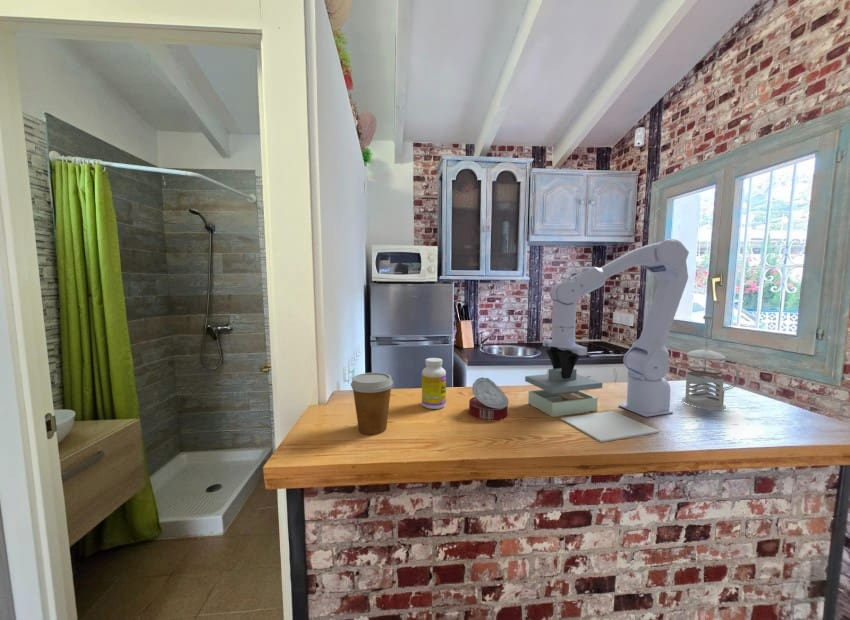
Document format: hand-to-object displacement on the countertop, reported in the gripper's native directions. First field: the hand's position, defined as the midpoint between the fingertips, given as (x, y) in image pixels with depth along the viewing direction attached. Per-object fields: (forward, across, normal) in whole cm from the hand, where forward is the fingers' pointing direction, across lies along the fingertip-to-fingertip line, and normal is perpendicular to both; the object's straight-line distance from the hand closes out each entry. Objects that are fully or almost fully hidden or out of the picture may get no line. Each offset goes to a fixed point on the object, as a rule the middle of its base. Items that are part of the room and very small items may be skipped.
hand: (562, 376), depth 84 cm
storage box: (+8, 0, 0) cm, 8 cm away
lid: (+2, 0, 0) cm, 2 cm away
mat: (+8, +13, +2) cm, 16 cm away
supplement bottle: (+8, -11, -33) cm, 36 cm away
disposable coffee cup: (+8, -1, -51) cm, 52 cm away
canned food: (+9, -2, -21) cm, 23 cm away
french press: (+9, +10, +40) cm, 42 cm away
